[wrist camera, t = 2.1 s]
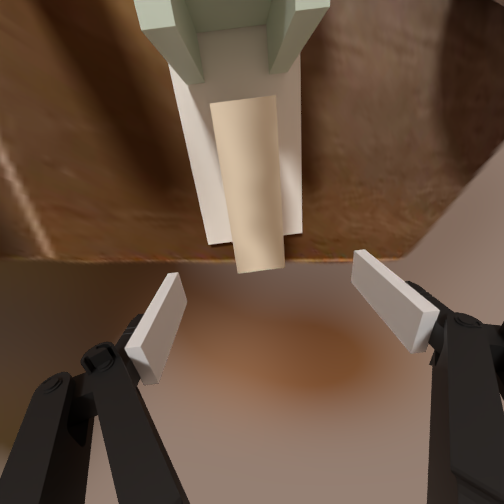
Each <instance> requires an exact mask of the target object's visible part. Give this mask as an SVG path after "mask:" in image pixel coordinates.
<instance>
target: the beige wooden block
mask: <svg viewBox="0 0 504 504" xmlns="http://www.w3.org/2000/svg"><path fill="white" fill-rule="evenodd" d="M210 109H211V115H212V121H213V127H214V133H215V139H216V145H217V151H218V157H219V163H220V169H221V175H222V181H223V187H224V193H225V199H226V205H227V211H228V217H229V223H230V229H231V235H232V241H233V247H234V253H235V259H236V265H237V271H238V274H239V273H247V272H254V271H262V270H270V269H278V268H285V259H284V239H283V220H282V201H281V182H280V162H279V143H278V124H277V104H276V95H273V96H265V97H257V98H249V99H241V100H233V101H225V102H217V103H210Z"/></svg>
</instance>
